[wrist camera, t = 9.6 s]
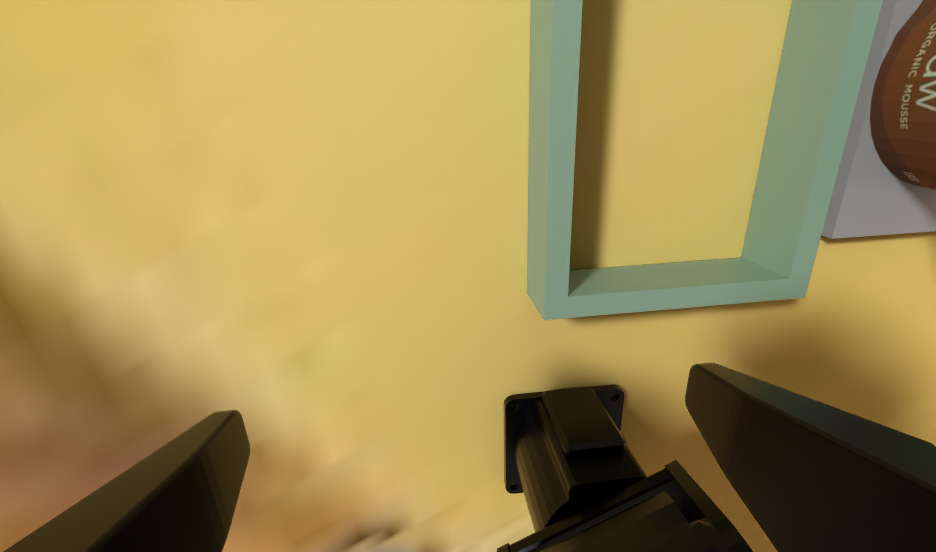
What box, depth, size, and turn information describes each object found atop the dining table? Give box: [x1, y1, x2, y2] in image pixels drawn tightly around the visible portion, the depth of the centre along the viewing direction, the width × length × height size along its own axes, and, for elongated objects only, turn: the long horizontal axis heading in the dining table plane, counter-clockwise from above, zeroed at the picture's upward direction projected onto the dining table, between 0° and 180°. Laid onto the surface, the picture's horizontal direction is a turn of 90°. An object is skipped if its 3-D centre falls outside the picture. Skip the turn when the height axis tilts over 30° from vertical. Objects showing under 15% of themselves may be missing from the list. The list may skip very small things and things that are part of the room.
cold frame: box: [527, 0, 883, 320], centre depth 17 cm, size 18×12×3 cm, turn 2°
